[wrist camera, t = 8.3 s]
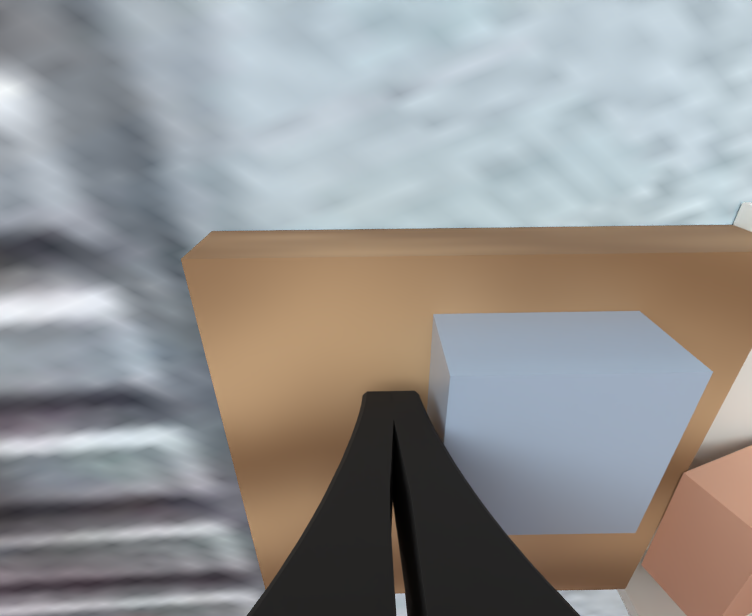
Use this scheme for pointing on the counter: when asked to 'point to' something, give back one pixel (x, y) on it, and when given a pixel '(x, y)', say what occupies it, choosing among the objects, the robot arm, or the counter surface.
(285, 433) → the oak board
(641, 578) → the tray
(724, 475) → the terracotta tile
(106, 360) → the counter surface
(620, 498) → the slate tile
